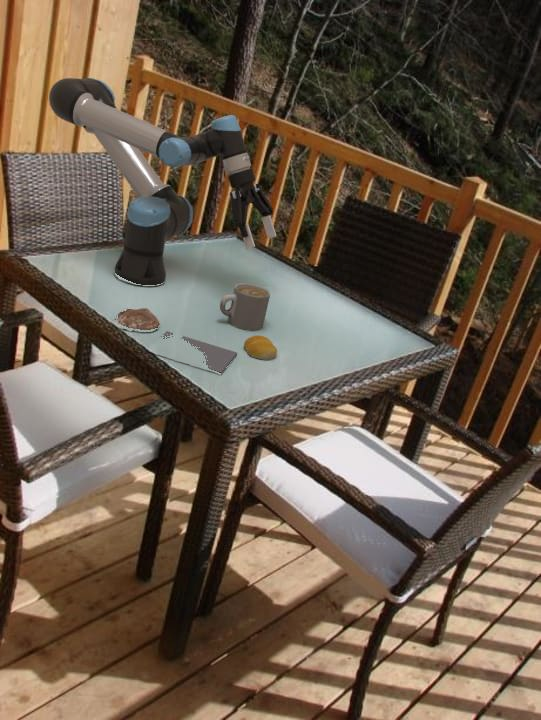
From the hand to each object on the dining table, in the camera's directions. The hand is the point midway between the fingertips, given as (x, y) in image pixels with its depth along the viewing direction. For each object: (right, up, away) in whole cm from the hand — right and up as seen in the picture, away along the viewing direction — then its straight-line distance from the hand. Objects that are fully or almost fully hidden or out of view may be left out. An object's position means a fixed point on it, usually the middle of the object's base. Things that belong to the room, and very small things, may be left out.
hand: (261, 242), depth 211 cm
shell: (-32, -26, -26) cm, 49 cm away
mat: (-16, -33, -36) cm, 52 cm away
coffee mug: (-6, -24, -12) cm, 28 cm away
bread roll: (0, -33, -26) cm, 42 cm away
